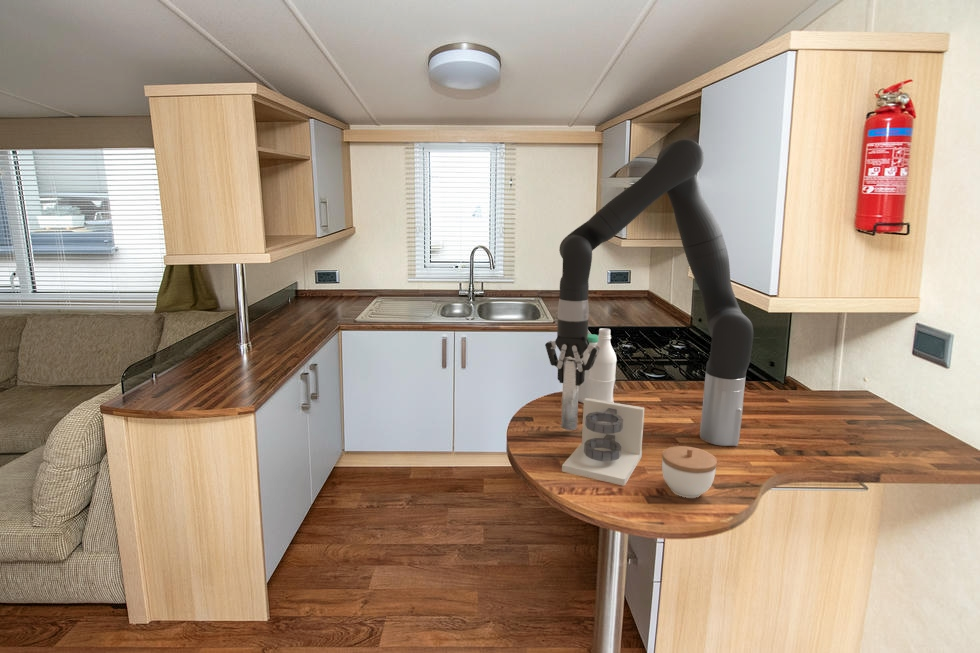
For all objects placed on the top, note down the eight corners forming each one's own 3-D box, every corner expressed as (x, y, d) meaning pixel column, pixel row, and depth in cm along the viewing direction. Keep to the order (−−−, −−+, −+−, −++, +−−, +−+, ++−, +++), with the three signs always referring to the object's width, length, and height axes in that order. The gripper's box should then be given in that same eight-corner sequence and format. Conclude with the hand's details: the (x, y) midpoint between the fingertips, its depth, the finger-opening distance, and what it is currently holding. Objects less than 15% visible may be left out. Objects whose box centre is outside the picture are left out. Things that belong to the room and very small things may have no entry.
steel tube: (579, 425, 152) (581, 358, 148) (574, 431, 148) (576, 362, 144) (564, 422, 154) (566, 356, 150) (558, 428, 150) (560, 360, 146)
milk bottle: (606, 403, 174) (610, 337, 169) (582, 405, 172) (585, 339, 167) (594, 395, 181) (598, 331, 177) (571, 397, 179) (574, 333, 174)
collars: (627, 445, 137) (629, 411, 135) (615, 464, 128) (617, 427, 126) (594, 439, 141) (596, 405, 139) (579, 456, 131) (581, 420, 129)
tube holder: (641, 456, 138) (645, 406, 136) (624, 485, 124) (628, 430, 122) (584, 445, 144) (586, 396, 142) (561, 471, 130) (564, 418, 128)
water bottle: (615, 422, 159) (620, 332, 154) (588, 422, 159) (593, 332, 154) (610, 412, 166) (615, 326, 161) (585, 412, 166) (589, 326, 161)
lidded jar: (649, 482, 126) (652, 442, 124) (691, 476, 129) (695, 436, 127) (679, 507, 116) (683, 463, 114) (725, 499, 119) (729, 456, 117)
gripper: (605, 317, 145) (602, 383, 149) (551, 311, 151) (549, 375, 155) (596, 322, 138) (593, 392, 142) (540, 317, 144) (538, 383, 148)
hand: (570, 383), depth 148 cm, fingers closed on steel tube, 4 cm apart
